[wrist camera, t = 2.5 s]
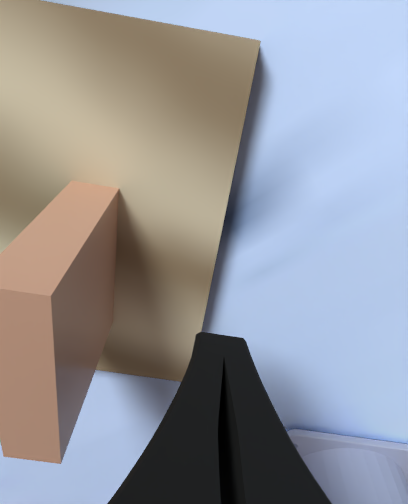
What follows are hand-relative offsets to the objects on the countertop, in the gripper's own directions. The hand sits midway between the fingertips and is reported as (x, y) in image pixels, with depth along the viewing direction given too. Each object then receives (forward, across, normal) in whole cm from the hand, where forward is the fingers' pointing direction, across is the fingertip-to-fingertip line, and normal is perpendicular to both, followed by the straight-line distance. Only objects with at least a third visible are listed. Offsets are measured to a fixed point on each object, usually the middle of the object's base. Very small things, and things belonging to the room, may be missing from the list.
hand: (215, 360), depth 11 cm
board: (+5, +7, -1) cm, 8 cm away
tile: (+4, +5, 0) cm, 6 cm away
